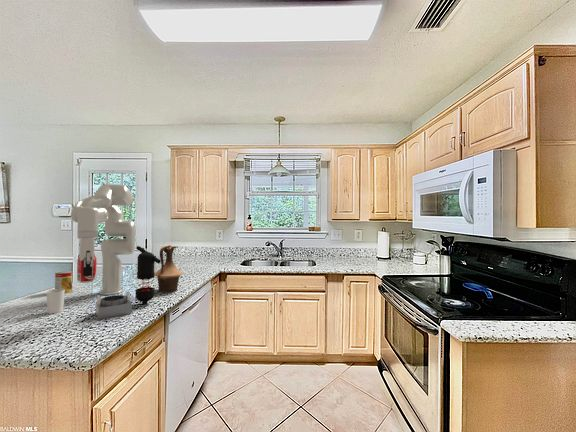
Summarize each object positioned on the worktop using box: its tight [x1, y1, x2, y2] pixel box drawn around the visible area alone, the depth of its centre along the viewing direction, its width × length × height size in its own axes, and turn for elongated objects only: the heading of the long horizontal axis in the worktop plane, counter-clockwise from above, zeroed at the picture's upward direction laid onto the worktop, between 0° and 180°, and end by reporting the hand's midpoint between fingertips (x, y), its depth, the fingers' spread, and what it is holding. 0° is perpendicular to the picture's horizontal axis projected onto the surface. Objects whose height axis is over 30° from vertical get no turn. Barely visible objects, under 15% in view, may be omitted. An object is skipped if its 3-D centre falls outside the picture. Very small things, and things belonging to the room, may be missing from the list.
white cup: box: [46, 288, 65, 315], centre depth 134 cm, size 7×7×10 cm
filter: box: [135, 245, 161, 305], centre depth 149 cm, size 14×9×30 cm
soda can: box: [76, 253, 98, 284], centre depth 128 cm, size 7×7×12 cm
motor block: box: [94, 290, 133, 320], centre depth 134 cm, size 11×13×9 cm
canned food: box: [54, 270, 73, 295], centre depth 168 cm, size 8×8×12 cm
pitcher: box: [154, 244, 184, 293], centre depth 177 cm, size 18×17×28 cm
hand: (87, 274), depth 128 cm, fingers closed on soda can, 7 cm apart
